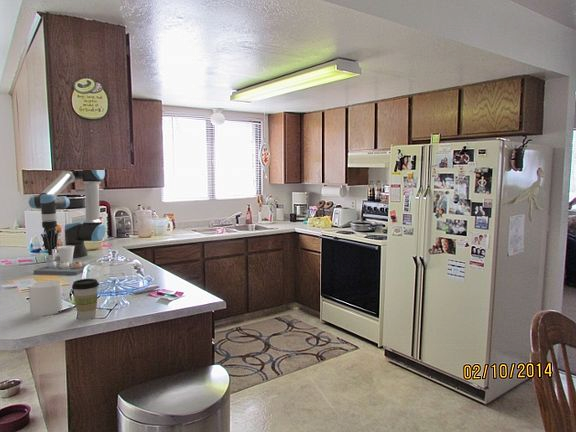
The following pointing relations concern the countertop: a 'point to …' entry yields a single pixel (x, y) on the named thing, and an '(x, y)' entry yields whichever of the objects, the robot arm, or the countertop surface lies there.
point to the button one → (51, 264)
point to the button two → (64, 265)
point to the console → (60, 270)
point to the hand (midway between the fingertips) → (51, 259)
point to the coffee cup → (86, 297)
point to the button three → (77, 265)
